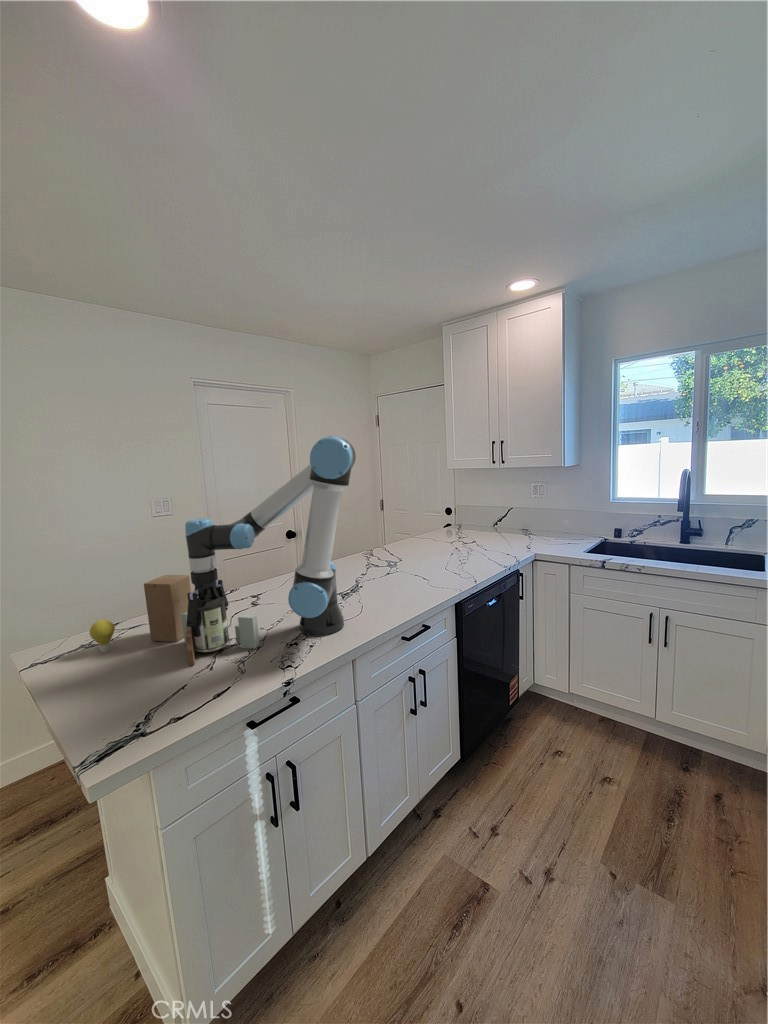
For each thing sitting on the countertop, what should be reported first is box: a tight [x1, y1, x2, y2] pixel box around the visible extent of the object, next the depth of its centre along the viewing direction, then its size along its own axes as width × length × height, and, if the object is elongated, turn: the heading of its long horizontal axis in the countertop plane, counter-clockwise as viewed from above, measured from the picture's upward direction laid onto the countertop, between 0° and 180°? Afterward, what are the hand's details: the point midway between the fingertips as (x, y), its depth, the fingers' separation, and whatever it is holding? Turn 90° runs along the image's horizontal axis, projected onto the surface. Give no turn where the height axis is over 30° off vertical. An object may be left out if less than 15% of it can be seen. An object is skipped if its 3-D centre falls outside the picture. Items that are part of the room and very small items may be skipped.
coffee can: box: [194, 597, 230, 653], centre depth 131 cm, size 10×10×14 cm
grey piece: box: [181, 612, 260, 649], centre depth 134 cm, size 26×3×10 cm, turn 77°
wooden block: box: [143, 574, 192, 643], centre depth 142 cm, size 10×10×20 cm
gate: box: [186, 627, 196, 667], centre depth 129 cm, size 18×1×9 cm, turn 22°
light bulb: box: [89, 619, 116, 653], centre depth 134 cm, size 7×7×10 cm
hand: (211, 637), depth 132 cm, fingers closed on coffee can, 10 cm apart
